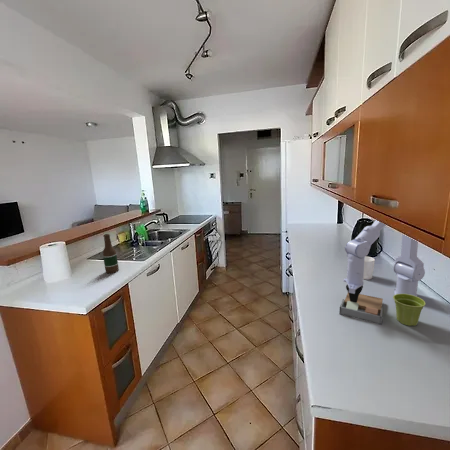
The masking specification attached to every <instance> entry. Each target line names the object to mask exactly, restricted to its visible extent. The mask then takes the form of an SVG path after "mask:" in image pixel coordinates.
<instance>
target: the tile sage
mask: <svg viewBox="0 0 450 450" xmlns="http://www.w3.org/2000/svg"><path fill="white" fill-rule="evenodd" d="M346 308H349V309H353V310H357V311H358V308H359V303H355V302H351V301H347V305H346Z"/></svg>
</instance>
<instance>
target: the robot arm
mask: <svg viewBox="0 0 450 450" xmlns="http://www.w3.org/2000/svg"><path fill="white" fill-rule="evenodd" d="M386 226H387V225H385V224H383V223H381V222H379V221H377V220H376V219H375V220H374V222H373V223H372V224H371V225H367V226H364V228H363V229H362V230H361V232H359V234H358V235H357V236H356V237H355V238H354V239H352V240H351V239H350V240H349V241H348V242H347V243H346V244H345V247H344V251H345V252H346V257H347V267H346V268H347V269H346V271H347V272H346V278H345V277H344V278H343V282H344V283H346V286H345V289H346V291H347V293H349V297H350V301H351V302H355V303H357V300H358V296H359V294H361V292H362V291H363V288H364V284H365V282H364V279H363V276H364V260H365V256H368V254H369V252H370V249H371V247H372V244H374V243H375V242H376V240H378V238H380V236H381V232H380V231H381V230H383V229H384V227H386ZM401 234H402V233H401ZM400 247H401V248H400V249H401V250H400V255H399V256H397V257H395V259H394V263H393V266H392V270H393V272H394V273H395V276H396V283H395V284H396V286H395V288H394V292H393V293H394V295H396V294H409V295H413V296H416V297H418V286H419V285H418V284H419V281H422V280H423V279H424V277H425V274H426V270H425V267H424V264H425V263H424V262H423V261H422V260H421V259H420V258H419V257H418V247H419V241H418V242H417V241H415V240H413V239H411V238H409V237H407V236H405V235H403V234H402V235H401V245H400ZM394 295H393V296H394Z"/></svg>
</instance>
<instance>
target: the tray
mask: <svg viewBox="0 0 450 450" xmlns="http://www.w3.org/2000/svg"><path fill="white" fill-rule="evenodd" d="M344 301H345V299H342V301H341V303H340V306H339V311H338V312H339V315H341V316H342V315H343V316H346V317H349V318H353V319H357V320H361V321H366V322H370V323H374V324H377V325H382V322H383V321H382V320H383V312H384V311H383V310H384V308H383V307H382V308H381V313H380V314H379V313H378V315H374V314H370V313H366V312H365V310H362V309H358V311H357V310H353V309H349V308H346V306H345V305H344Z"/></svg>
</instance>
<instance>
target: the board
mask: <svg viewBox="0 0 450 450" xmlns="http://www.w3.org/2000/svg"><path fill="white" fill-rule="evenodd" d="M344 300H345V301H344V305H345V306H346V305H347V301H350V297H349V293H348V292H347V294H346V297H345V299H344ZM383 300H384V299H383V298H382V297H377V296H376V297H375V296H371V295H367V294H362V293H360V294H359V296H358V300H357V303H359V308H358V309H362V310H366V306H367V307H371V308H376V309H378V313H379V314H380V313H381V308H383Z"/></svg>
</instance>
